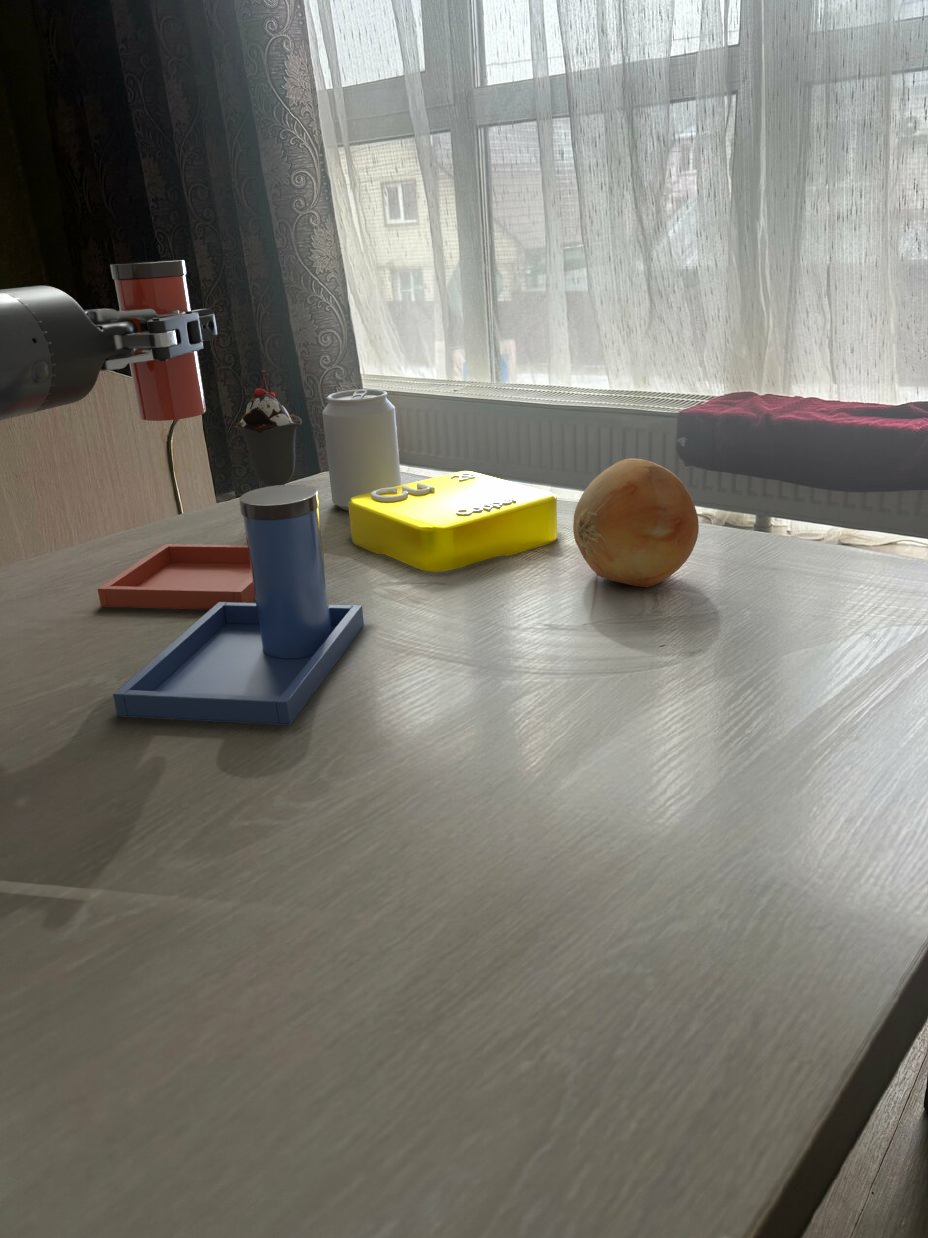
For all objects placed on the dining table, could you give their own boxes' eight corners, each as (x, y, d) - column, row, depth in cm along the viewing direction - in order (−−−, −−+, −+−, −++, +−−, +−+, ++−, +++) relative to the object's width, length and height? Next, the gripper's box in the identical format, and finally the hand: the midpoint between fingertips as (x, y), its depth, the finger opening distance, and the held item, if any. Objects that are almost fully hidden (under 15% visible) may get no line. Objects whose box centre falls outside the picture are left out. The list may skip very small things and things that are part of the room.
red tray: (102, 612, 78) (97, 588, 78) (168, 565, 89) (164, 543, 88) (244, 616, 76) (240, 591, 75) (295, 567, 86) (293, 545, 85)
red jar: (124, 421, 72) (95, 265, 68) (158, 408, 77) (133, 261, 73) (188, 420, 71) (163, 261, 67) (219, 407, 76) (196, 258, 72)
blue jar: (249, 658, 67) (226, 505, 63) (277, 628, 72) (257, 484, 68) (320, 661, 66) (301, 505, 62) (344, 631, 71) (327, 484, 66)
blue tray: (118, 724, 60) (112, 694, 60) (222, 627, 74) (218, 601, 73) (291, 733, 58) (286, 702, 57) (365, 631, 72) (362, 605, 71)
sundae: (291, 506, 105) (273, 365, 100) (324, 517, 101) (307, 370, 95) (237, 519, 102) (215, 374, 96) (269, 532, 97) (247, 379, 91)
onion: (547, 585, 79) (545, 464, 75) (626, 554, 85) (627, 441, 81) (642, 615, 72) (644, 484, 68) (720, 579, 78) (726, 457, 74)
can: (322, 514, 101) (309, 399, 97) (347, 495, 108) (335, 386, 104) (390, 516, 100) (380, 398, 95) (411, 496, 106) (402, 385, 102)
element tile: (434, 581, 81) (430, 526, 79) (344, 542, 92) (338, 493, 91) (567, 540, 89) (566, 489, 87) (469, 509, 100) (466, 463, 99)
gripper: (76, 287, 55) (252, 268, 70) (-94, 293, 61) (101, 274, 75) (101, 418, 58) (266, 374, 73) (-63, 412, 64) (119, 372, 78)
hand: (181, 323), depth 74 cm, fingers closed on red jar, 5 cm apart
